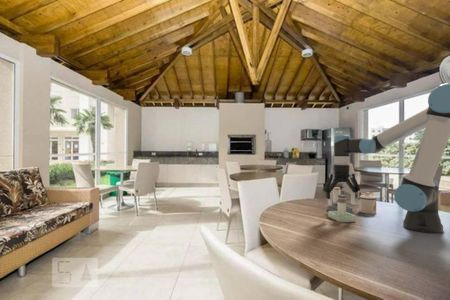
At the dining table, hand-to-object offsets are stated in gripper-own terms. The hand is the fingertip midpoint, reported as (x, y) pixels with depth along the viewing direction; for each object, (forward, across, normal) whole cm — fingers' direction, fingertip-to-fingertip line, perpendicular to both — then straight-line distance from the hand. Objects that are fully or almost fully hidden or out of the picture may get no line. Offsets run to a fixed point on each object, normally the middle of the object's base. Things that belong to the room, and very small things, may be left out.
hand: (341, 204), depth 143 cm
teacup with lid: (+8, -25, -13) cm, 29 cm away
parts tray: (+8, 0, 0) cm, 8 cm away
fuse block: (+8, -8, -14) cm, 18 cm away
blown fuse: (+7, 0, 0) cm, 7 cm away
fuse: (+6, -8, -18) cm, 20 cm away
